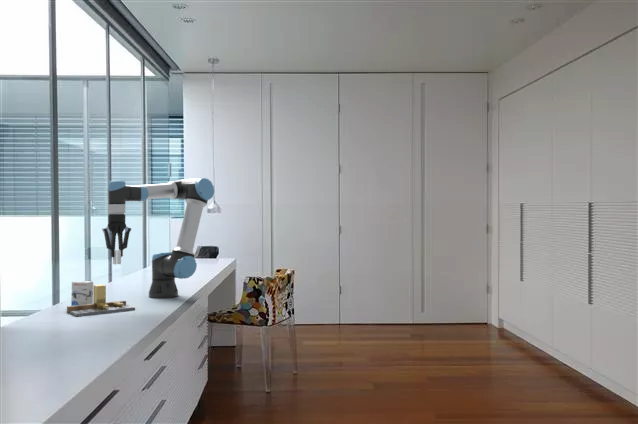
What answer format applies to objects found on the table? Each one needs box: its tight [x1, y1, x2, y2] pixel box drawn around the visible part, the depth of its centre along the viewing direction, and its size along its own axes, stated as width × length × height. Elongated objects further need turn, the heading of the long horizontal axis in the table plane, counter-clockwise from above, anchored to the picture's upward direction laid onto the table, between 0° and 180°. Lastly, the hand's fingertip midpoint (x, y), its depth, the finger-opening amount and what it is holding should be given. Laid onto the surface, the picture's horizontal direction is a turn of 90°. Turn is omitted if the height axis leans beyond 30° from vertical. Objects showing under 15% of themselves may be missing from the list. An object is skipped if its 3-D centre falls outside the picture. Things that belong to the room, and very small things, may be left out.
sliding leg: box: [93, 284, 109, 309], centre depth 265 cm, size 4×10×11 cm, turn 40°
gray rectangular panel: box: [69, 304, 136, 317], centre depth 261 cm, size 26×8×1 cm, turn 130°
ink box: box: [70, 280, 94, 306], centre depth 276 cm, size 9×5×12 cm, turn 84°
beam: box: [66, 300, 127, 314], centre depth 264 cm, size 26×9×3 cm, turn 130°
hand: (116, 264), depth 272 cm, fingers closed
